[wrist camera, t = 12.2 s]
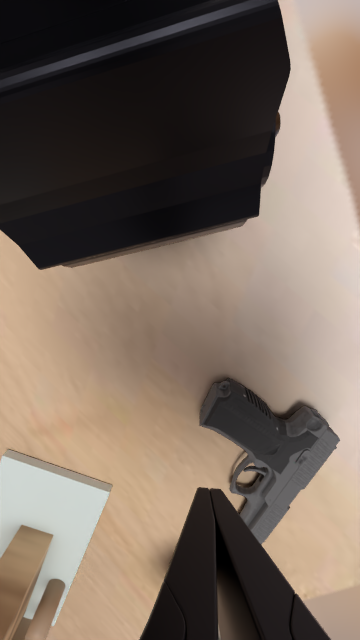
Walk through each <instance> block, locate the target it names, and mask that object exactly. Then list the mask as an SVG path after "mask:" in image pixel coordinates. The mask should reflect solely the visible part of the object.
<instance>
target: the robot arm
mask: <svg viewBox="0 0 360 640" xmlns="http://www.w3.org/2000/svg"><path fill="white" fill-rule="evenodd" d="M290 69H291V68H290V58H289V52H288V47H287V41H286V36H285V30H284V25H283V20H282V15H281V10H280V7H279V3H278V0H0V230H1V231H2V232H4V233H5V234H6V235H7V236H8V237H9V238H10V239H12V240H13V241H14V242H15V243H16V244H17V245H19V247H20V248H21V249H22V250H23V251H24V252H25V254H26V255H27V256H28V257H29V258H30V260H31V261H32V262H33V263H34V264H35V265H36V267H37V268H38V269H40V270H43V269H47V268H51V267H55V266H59V265H62V266H65V267H71V268H73V267H77V266H82V265H86V264H90V263H94V262H98V261H102V260H107V259H111V258H115V257H119V256H123V255H127V254H131V253H135V252H139V251H143V250H147V249H151V248H156V247H160V246H164V245H168V244H172V243H176V242H180V241H184V240H188V239H192V238H196V237H201V236H205V235H209V234H213V233H217V232H221V231H225V230H229V229H233V228H236V227H240V226H243V225H244V223H245V222H246V221H247V219H249V218H254V217H257V216H259V208H260V193H261V188H262V186H263V185H264V184H265V183H266V181H267V179H268V177H269V173H270V170H271V166H272V161H273V154H274V146H275V137H276V136H277V134H278V132H279V129H280V114H279V112H278V110H279V107H280V104H281V100H282V97H283V94H284V91H285V88H286V84H287V81H288V78H289V74H290ZM218 624H219V631H220V638H221V640H331V639H330V637H329V636H328V635H327V633H326V632H325V631H324V629H323V628H322V627H321V626H320V624H319V623H318V621H317V620H316V619H315V618H314V616H313V615H312V614H311V612H310V611H309V610H308V608H307V607H306V606H305V604H304V603H303V601H302V600H301V599H300V597H299V596H298V594H295V591H294V590H293V588H292V587H291V585H290V584H289V583H288V581H287V580H286V579H285V577H284V576H283V574H282V573H281V572H280V570H279V569H278V567H277V566H276V565H275V563H274V562H273V561H272V559H271V558H270V556H269V555H268V554H267V552H266V551H265V549H264V548H263V547H262V545H261V544H260V543H259V541H258V540H257V538H256V537H255V536H254V534H253V533H252V532H251V530H250V529H249V527H248V526H247V525H246V523H245V522H244V520H243V519H242V518H241V516H240V515H239V514H238V512H237V511H236V509H235V508H234V507H233V505H232V504H231V503H230V501H229V500H228V498H227V497H226V496H225V494H224V493H223V491H222V490H221V489H214V488H211V489H210V490H209V489H208V488H201V487H199V488H197V491H196V494H195V496H194V499H193V502H192V505H191V507H190V510H189V513H188V515H187V518H186V521H185V524H184V526H183V529H182V532H181V535H180V537H179V540H178V543H177V546H176V548H175V551H174V554H173V557H172V559H171V562H170V565H169V568H168V570H167V573H166V576H165V579H164V582H163V583H162V586H161V589H160V591H159V594H158V597H157V599H156V602H155V604H154V607H153V609H152V612H151V614H150V617H149V619H148V622H147V624H146V626H145V628H144V630H143V633H142V635H141V637H140V639H139V640H219V638H218Z"/></svg>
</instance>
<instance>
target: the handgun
mask: <svg viewBox="0 0 360 640" xmlns="http://www.w3.org/2000/svg"><path fill="white" fill-rule="evenodd" d="M200 426H202V427H205V428H209V429H211V430H214V431H216V432H217V433H219V434H221V435H222V436H224V437H226V438H227V439H229V440H231V441H232V442H234V443H235V444H237V445H238V446H240V447H241V448H242V449H244V450H245V451H246V452H247V454H248V455H247V457H246V458H245V459H244V460H243V461H242V462H241V463H240V464H239V465H238V466H237V468H236V470H235V472H234V475H233V478H232V481H231V484H230V488H229V489H230V491H231V493H235V494H239V495H242V496H244V497H246V498H247V502H246V504H245V506H244V508H243V509H242V511H241V513H240V516H241V518H242V519H243V520H244V522H245V523H246V525H247V526H248V527H249V529H250V530H251V532H252V533H253V534H254V536H255V537H256V538H257V540H258V541H259V543H260V544H262V543H263V542H264V541H265V540H266V539H267V537H268V536H269V535H270V533H271V532H272V531H273V529H274V528H275V527H276V525H277V524H278V523H279V522H280V520H281V519H282V518H283V516H284V515H285V514H286V512H287V511H288V510H289V508H290V506H289V505H290V504H291V502H292V501H293V500H294V498H295V497H296V496H297V494H298V493H299V492H300V490H302V489H305V487H306V486H307V485H308V483H309V482H310V481H311V479H312V478H313V477H314V476H315V474H316V473H317V472H318V470H319V469H320V468H321V466H322V465H323V464H324V462H325V461H326V460H327V458H328V457H329V456H330V454H331V453H332V452H333V451H334V449H336V448H337V447H336V445H337V444H338V442H339V441H340V439H339V437H338V436H337V435H336V434H335V433H334V432H333V430H332V429H331V428H330V427H329V424H328V423H327V421H326V420H325V419H323V418H322V417H321V416H320V414H319V413H318V412H317V411H316V410H315V409H313V408H312V409H310V408H308V407H306V406H303V407H301V408H300V409H299V410H298V411H296V412H295V413H294V414H293V415H292V416H291V417H290V418H289V419H284V420H283V419H281V418H279V417H275V416H274V415H273V414H272V412H271V411H270V409H269V408H268V406H267V405H266V404H265V403H264V402H263V401H262V400H261V399H260V398H259V397H257V395H255V394H254V393H253V392H251V391H250V390H248V389H247V388H244V386H242V385H241V384H239V383H237V382H235V381H233V380H232V379H230V378H227V380H226V381H223V382H221V383H214V384H213V385H212V387H211V389H210V391H209V393H208V395H207V397H206V399H205V401H204V403H203V405H202V408H201V411H200ZM252 462H253V463H254V465H255V466H249V467H246V466H247V465H248V464H250V463H252ZM245 467H246V468H245ZM263 467H265V468H263ZM244 468H245V469H244ZM243 469H244V472H246V471H255V472H259V473H261V474H260V476H259V477H258V479H257V480H256V482H255V483H254V484H253V486H251V487H247V488H244V487H241V486H238V485H237V484H236V479H237V477H238V475H239V474H240V472H241V471H242V470H243Z"/></svg>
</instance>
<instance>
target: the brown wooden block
mask: <svg viewBox="0 0 360 640" xmlns="http://www.w3.org/2000/svg"><path fill="white" fill-rule="evenodd" d="M52 538H53V535H52V534H49V533H46V532H43V531H40V530H37V529H34V528H31V527H28V526H25V525H21V526H20V528H19V530H18V531H17V533H16V534H15V536H14V538H13V539H12V541H11V542H10V544H9V545H8V547H7V549H6V550H5V552H4V553H3V555H2V557H1V558H0V640H13V638H14V636H15V633H16V631H17V629H18V627H19V625H20V623H21V620H22V618H23V616H24V614H25V612H26V609H27V606H28V604H29V601H30V598H31V595H32V593H33V590H34V587H35V585H36V582H37V579H38V576H39V574H40V571H41V568H42V565H43V563H44V560H45V557H46V555H47V552H48V549H49V546H50V544H51V541H52Z"/></svg>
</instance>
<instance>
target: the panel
mask: <svg viewBox="0 0 360 640" xmlns="http://www.w3.org/2000/svg"><path fill="white" fill-rule="evenodd" d="M111 488H112V485H110V484H107V483H104V482H102V481H99V480H96V479H93V478H90V477H87V476H84V475H81V474H78V473H76V472H73V471H70V470H67V469H64V468H61V467H58V466H55V465H52V464H50V463H47V462H44V461H41V460H38V459H35V458H32V457H29V456H26V455H24V454H21V453H18V452H15V451H12V450H9V449H8V450H7V451H6V452H5V453H4V454H3V455H2V459H1V462H0V558H1V557H2V555H3V553H4V552H5V550H6V549H7V547H8V545H9V544H10V542H11V541H12V539H13V538H14V536H15V534H16V533H17V531H18V530H19V528H20V526H21V525H25V526H28V527H31V528H34V529H37V530H40V531H43V532H46V533H49V534H52V535H53V538H52V541H51V544H50V546H49V549H48V552H47V555H46V557H45V560H44V563H43V565H42V568H41V571H40V574H39V576H38V579H37V582H36V585H35V587H34V590H33V593H32V595H31V598H30V601H29V604H28V606H27V609H26V612H25V614H24V616H23V618H22V620H21V623H20V625H19V627H18V629H17V631H16V633H15V636H14V638H13V640H46V638H47V635H48V632H49V629H50V627H51V626H54V624H55V622H56V619H57V617H58V615H59V612H60V610H61V608H62V605H63V603H64V600H65V598H66V596H67V593H68V591H69V589H70V586H71V584H72V581H73V579H74V577H75V574H76V572H77V570H78V567H79V565H80V562H81V560H82V558H83V555H84V553H85V551H86V548H87V546H88V543H89V541H90V539H91V536H92V534H93V532H94V529H95V527H96V524H97V522H98V520H99V517H100V515H101V512H102V510H103V508H104V505H105V503H106V501H107V498H108V496H109V493H110V491H111Z"/></svg>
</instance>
